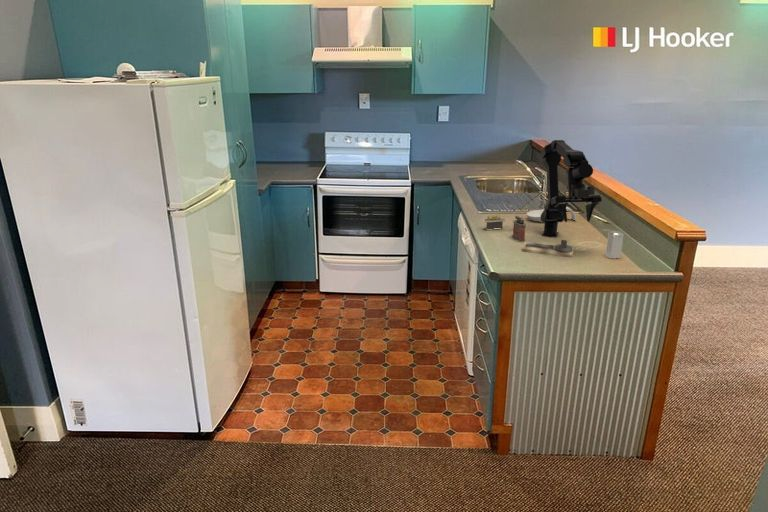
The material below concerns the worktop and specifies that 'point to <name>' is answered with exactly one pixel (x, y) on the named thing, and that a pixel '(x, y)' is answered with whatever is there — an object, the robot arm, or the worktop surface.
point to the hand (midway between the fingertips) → (577, 221)
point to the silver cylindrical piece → (614, 244)
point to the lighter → (519, 229)
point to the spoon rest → (536, 214)
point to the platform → (494, 222)
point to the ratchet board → (549, 248)
